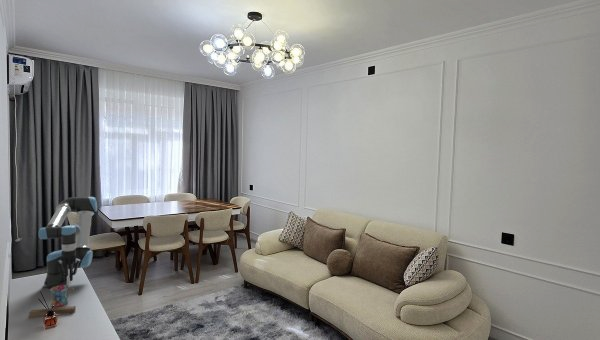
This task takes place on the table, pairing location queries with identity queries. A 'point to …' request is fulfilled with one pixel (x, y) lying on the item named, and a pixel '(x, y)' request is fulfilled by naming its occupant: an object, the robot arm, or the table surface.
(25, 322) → the table surface
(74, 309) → the board
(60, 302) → the mug
